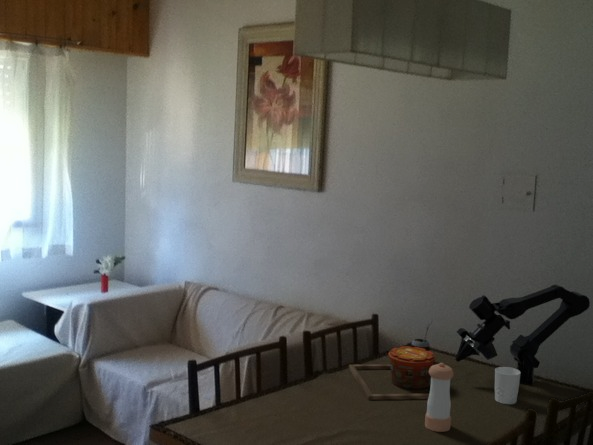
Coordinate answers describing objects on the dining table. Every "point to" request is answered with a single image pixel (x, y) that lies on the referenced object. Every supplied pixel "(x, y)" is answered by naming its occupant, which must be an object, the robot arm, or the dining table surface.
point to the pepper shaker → (439, 399)
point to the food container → (411, 367)
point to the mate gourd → (422, 341)
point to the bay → (380, 396)
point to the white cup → (506, 385)
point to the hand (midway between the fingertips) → (456, 360)
